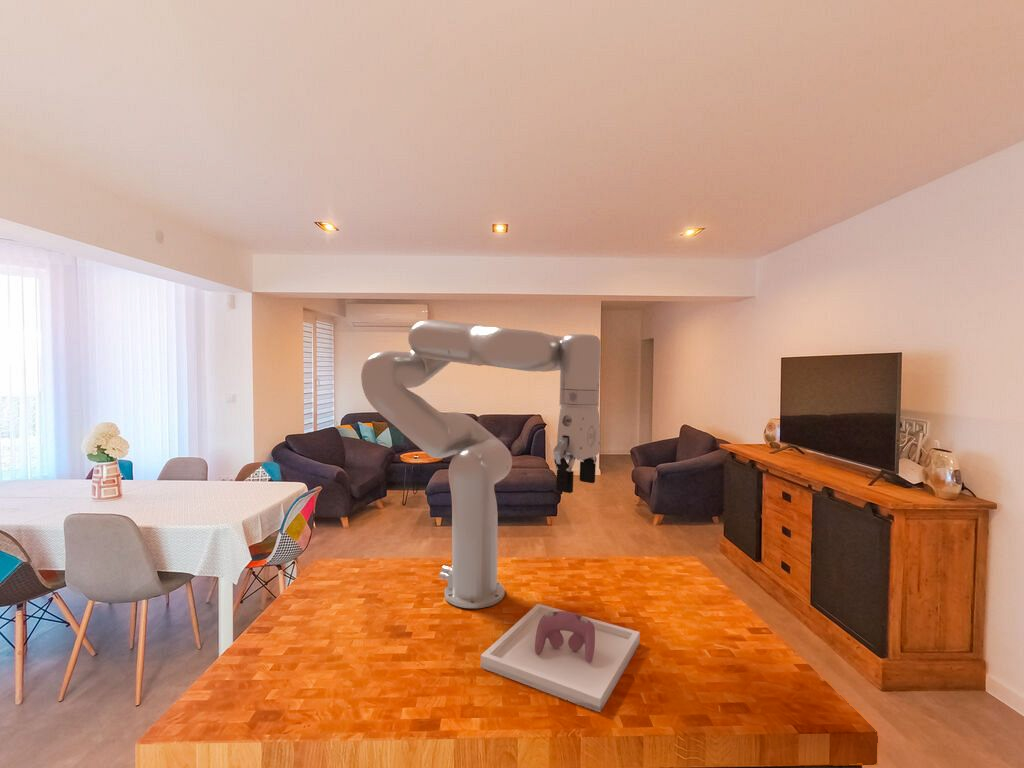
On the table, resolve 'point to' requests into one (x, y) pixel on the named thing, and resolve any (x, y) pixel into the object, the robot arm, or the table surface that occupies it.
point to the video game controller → (566, 622)
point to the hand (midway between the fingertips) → (576, 486)
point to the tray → (563, 660)
